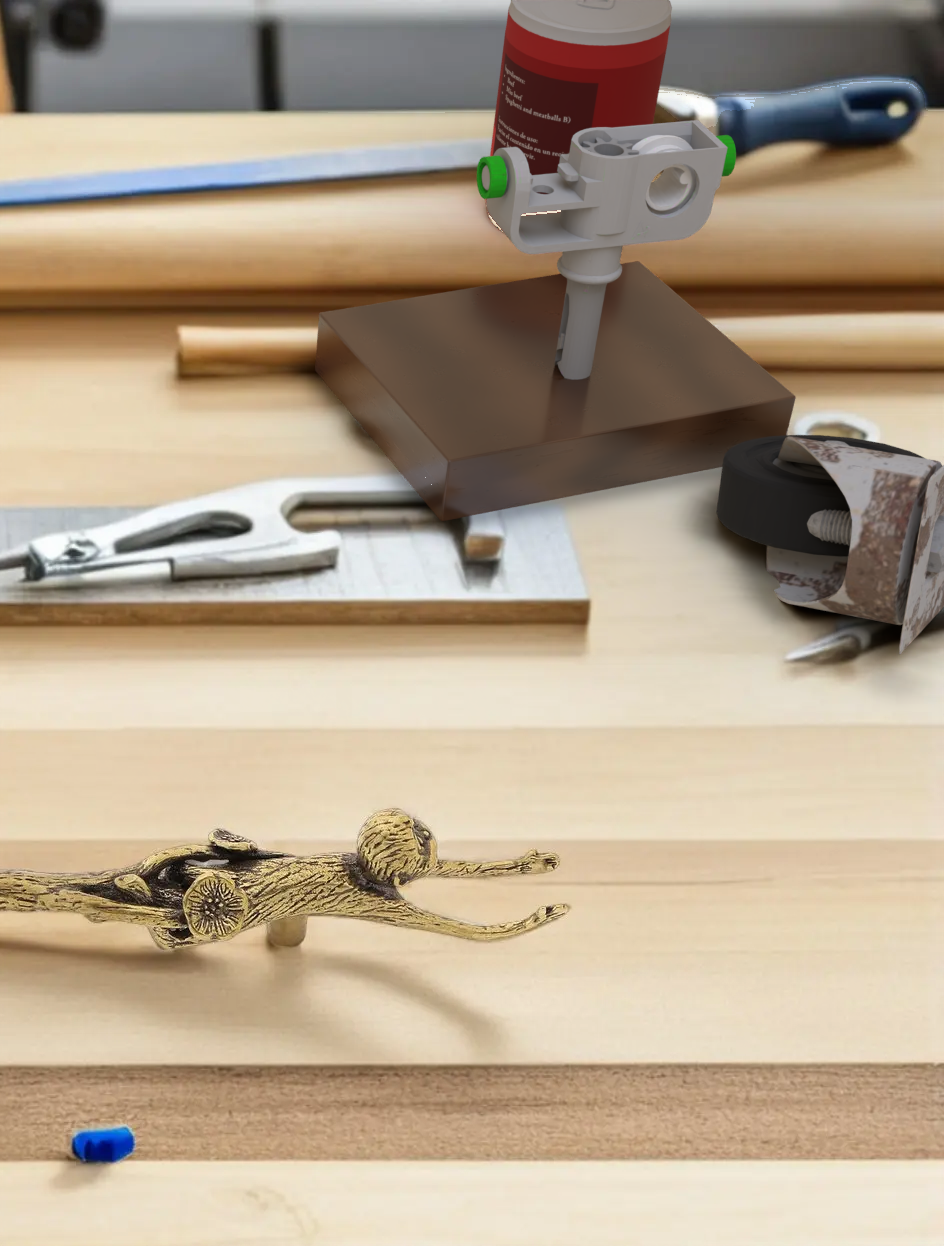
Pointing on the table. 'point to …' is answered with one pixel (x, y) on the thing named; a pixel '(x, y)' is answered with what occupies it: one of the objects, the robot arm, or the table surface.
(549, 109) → the canned food
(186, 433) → the table surface
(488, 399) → the plinth
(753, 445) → the caster wheel
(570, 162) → the mechanical component
